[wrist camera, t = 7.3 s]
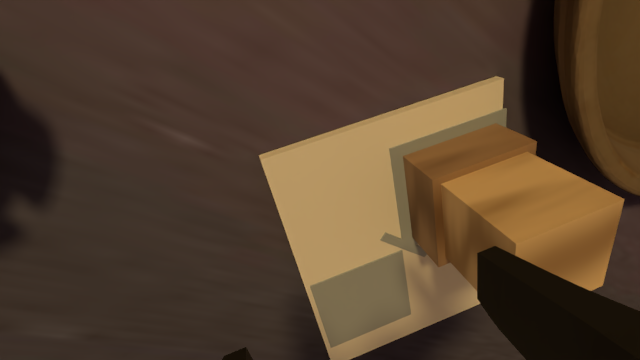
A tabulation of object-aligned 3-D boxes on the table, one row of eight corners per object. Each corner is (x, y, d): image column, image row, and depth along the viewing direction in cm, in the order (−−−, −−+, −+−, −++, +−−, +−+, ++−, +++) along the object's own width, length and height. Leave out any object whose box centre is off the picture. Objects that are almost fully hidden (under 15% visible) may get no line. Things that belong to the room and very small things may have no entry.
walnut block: (493, 205, 24) (528, 230, 21) (412, 237, 23) (438, 267, 21) (495, 123, 21) (537, 141, 18) (402, 156, 20) (432, 180, 18)
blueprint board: (492, 291, 29) (498, 297, 29) (330, 359, 28) (333, 368, 27) (499, 75, 20) (508, 77, 20) (258, 155, 18) (260, 160, 18)
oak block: (521, 226, 21) (602, 285, 17) (445, 257, 20) (509, 326, 16) (527, 151, 19) (624, 199, 14) (440, 184, 18) (516, 243, 14)
